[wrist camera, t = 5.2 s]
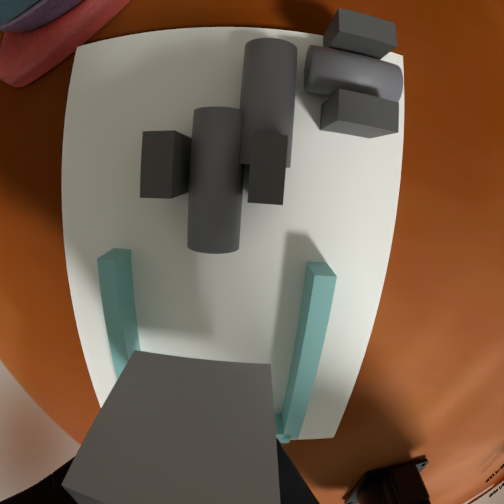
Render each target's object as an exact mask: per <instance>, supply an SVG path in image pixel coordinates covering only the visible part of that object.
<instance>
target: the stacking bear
mask: <svg viewBox="0 0 504 504" xmlns="http://www.w3.org/2000/svg"><path fill="white" fill-rule="evenodd" d="M130 1H131V0H0V31H1V32H5V33H4V37H3V40H2V43H1V47H0V79H1V80H2V81H4V82H6V83H7V84H9V85H11V86H13V87H23V86H26V85H28V84H30V83H31V82H33V81H34V80H36V79H37V78H39V77H41V76H42V75H44V74H45V73H47V72H48V71H49V70H51V69H52V68H53V67H55V66H56V65H58V64H59V63H60V62H62V61H63V60H64V59H66V58H67V57H68V56H69V55H71V54H72V53H73V52H74V51H76V50H77V47H78V46H82V45H83V44H84V43H85V42H86V41H87V40H89V39H90V38H91V37H92V36H93V35H94V34H96V33H97V32H98V31H99V30H100V29H101V28H102V27H104V26H105V25H106V24H107V23H108V22H109V21H110V20H111V19H112V18H113V17H114V16H115V15H117V14H118V13H119V12H120V11H121V10H122V9H123V8H124V7H125V6H126V5H127V4H128V3H129V2H130Z"/></svg>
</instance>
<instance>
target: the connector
mask: <svg viewBox="0 0 504 504" xmlns="http://www.w3.org/2000/svg"><path fill="white" fill-rule="evenodd" d="M61 485H62V486H63V487H64V489H65V490H66V491H67V492H68V493H69V494H70V495H71V496H72V497H73V498H74V500H75V501H76V502H77V503H78V504H280V488H279V473H278V458H277V444H276V429H275V415H274V402H273V388H272V375H271V364H260V363H243V362H229V361H217V360H207V359H197V358H188V357H180V356H172V355H165V354H158V353H151V352H145V351H139V350H135V351H134V352H133V354H132V356H131V357H130V359H129V361H128V362H127V364H126V366H125V367H124V369H123V371H122V373H121V374H120V376H119V378H118V379H117V381H116V383H115V385H114V386H113V388H112V390H111V392H110V393H109V395H108V397H107V399H106V401H105V402H104V404H103V406H102V408H101V409H100V411H99V413H98V415H97V417H96V419H95V420H94V422H93V424H92V426H91V428H90V430H89V432H88V433H87V435H86V437H85V439H84V441H83V443H82V445H81V447H80V449H79V451H78V453H77V454H76V456H75V458H74V460H73V462H72V464H71V466H70V468H69V470H68V472H67V474H66V476H65V478H64V480H63V482H62V484H61Z"/></svg>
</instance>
